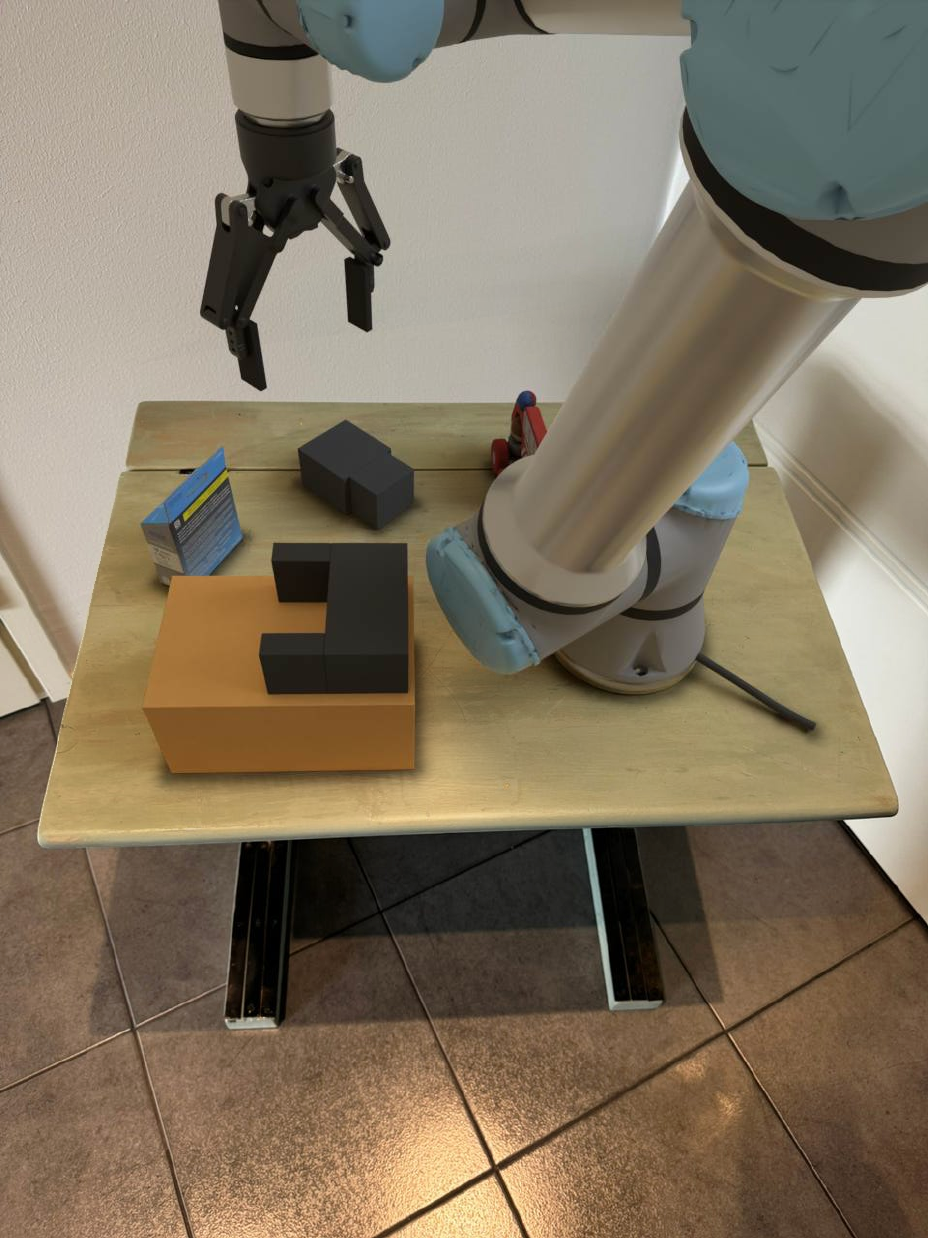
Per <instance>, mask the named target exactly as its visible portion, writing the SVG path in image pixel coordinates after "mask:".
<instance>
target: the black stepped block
mask: <svg viewBox="0 0 928 1238" xmlns="http://www.w3.org/2000/svg"><path fill="white" fill-rule="evenodd" d="M297 456H298V462H299V463H298V465H299V471H300V478H301V484H302V485H303V486H304V487H305V488H307V489H308V490H310V491H311V492H313V493H314V494H316V495H317V496H318V497H320V498H321V499H323V500H324V501H325V502H327V503H329V504H330V505H331V506H333V508H335V509H337V510H338V511H339V512H341V513H343V514H344V515H345V516H347V515H349V514H350V513H352V514H354V515H355V516H356V517H358V518H360V519H361V520H362V521H364V522H365V523H366V524H368V525H369V526H371V527H372V528H374V529H375V530H376V531H378V530H380V529H381V528H383V527H384V526H386V525H387V524H388V523H389V522H391V521H392V520H394V519H395V518H396V517H398V516H399V515H401V514H402V513H403V512H405V511H406V510H408V509H409V508H411V507H412V506H413V505H414V504H415V469H414V468H413V467H411V466H410V465H408V464H407V463H405V462H403V461H402V460H401V459H399V458H397V457H396V456H394V455H393V454H392V447H390V446H388V445H387V444H385V443H384V442H382V441H381V440H379V439H377V438H375V436H373V435H371V434H370V433H367V432H366V431H365V430H363V429H362V428H360V427H358V426H357V425H355V424H354V423H352V422H351V421H349V420H347V419H344V420H342V421H340V422H339V423H337V424H335V425H334V426H332V427H331V428H329V429H328V430H326V431H324V432H322V433H320V434H319V435H317V436H316V437H314V438H312V439H311V440H309V441H308V442H306V443H304V444H303V445H301V446H299V447H298V448H297Z"/></svg>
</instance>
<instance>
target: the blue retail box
mask: <svg viewBox="0 0 928 1238" xmlns="http://www.w3.org/2000/svg"><path fill="white" fill-rule="evenodd" d="M237 511H238V510H237V508H236V503H235V499H234V494H233V489H232V485H231V481H230V477H229V472H228V468H227V465H226V459H225V449H224V446H223V445H221V446H220V447H219V448H218V449H217V450H216V451H215V453H213V454H212V455H211V456H210V457H209V458H208V459H207V460H206V461H205V462H204V463H202V465H201V466H198V467H196V468H195V469H194V470H193V471H192V472H191V473H190V474H189V475H188V476H187V477H186V478H184V480H183V481H182V482H181V483H180V484H179V485H178V486H177V487H176V488H175V489H174V490H173V491H172V492H171V493H170V494H169V495H167V497H166V498H164V500H163V501H162V502H160V504H158V505H157V506H156V508H155V509H153V511H151V512H150V513H149V514H148V515H147V516H146V517H145V518H144V519H143V521H141V522H140V527H141V529H142V533H143V535H144V538H145V541H146V545H147V547H148V550H149V554H150V556H151V559H152V561H153V562H152V563H153V564H154V567H155V570H156V573H157V576H158V578H159V581H160V583H161V584H162V585H164V586H167V587H170V583H171V579H172V576H211V574H212V573H213V572H214V571H215V570H216V569H217V567H218V566H219V565H220V564H221V563H222V562H223V560H224V559H225V558H227V556H228V555H229V554H230V553H231V552H232V550H234V548H235V547H236V546H237V545H238V544H239V543H240V542H241V540H242V539H243V538H244V537H243V534H242V530H241V524H240V520H239V516H238V512H237Z"/></svg>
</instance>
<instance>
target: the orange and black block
mask: <svg viewBox="0 0 928 1238" xmlns="http://www.w3.org/2000/svg"><path fill="white" fill-rule="evenodd" d="M408 551H409V550H408V542H273V544H272V551H271V558H270V559H271V560H270V564H271V568H272V573H273V575H209V576H172V579H171V583H170V586H169V587H168V593H167V597H166V601H165V605H164V610H163V614H162V619H161V623H160V627H159V630H158V631H159V632H158V636H157V639H156V644H155V648H154V653H153V658H152V661H151V666H150V671H149V675H148V679H147V684H146V688H145V693H144V697H143V703H142V706H141V708H142V711H143V713H144V715H145V717H146V720H147V722H148V724H149V727H150V729H151V731H152V733H153V735H154V737H155V739H156V742H157V745H158V746H159V749H160V751H161V753H162V755H163V758H164V760H165V762H166V764H167V767H168V769H169V771H170V773H171V774H206V773H207V774H209V773H210V774H212V773H216V774H217V773H219V774H220V773H271V772H277V773H278V772H329V771H331V772H333V771H339V772H340V771H390V770H392V771H394V770H396V771H397V770H414V769H415V732H416V731H415V730H416V726H415V725H416V722H415V721H416V683H415V681H416V680H415V679H416V677H415V676H416V675H415V674H416V673H415V672H416V671H415V609H414V608H415V607H414V606H415V605H414V604H415V603H414V598H415V597H414V576H413V575H409V567H408V565H409V564H408V563H409V557H408V554H409V553H408Z"/></svg>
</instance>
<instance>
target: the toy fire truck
mask: <svg viewBox="0 0 928 1238" xmlns="http://www.w3.org/2000/svg"><path fill="white" fill-rule="evenodd" d="M536 405H537V396H536V394H535V393H534V392H533V391H532V390H523V391H521V392H520V393H519V394H518V396H517V398H516V400H515V403H514V406H513V409H512V412H511V418H510V429H509V436H508V439H506V438H503V437H502V438H494V439H493V440H492V442H491V447H490V448H491V449H490V460H491V467H492V471H493V474H494V475H495V476H496V478H497V477H498V476H499V474H500V473H501V472H502V471H503V470H505V469H506V468H507V467H508V466H509V465H510V462H516V461H518V460H520V459H522V458H524V457H528V456H531V455H534V454H535V453H536V451H537V449H538V447H539V445H540V444H541V442H542V440H543V438H544V437H545V435H546V433H547V431H548V430H547V427H546V424H545V422H544V421H545V420H544V418H543V415H542V413H541V410H540V408H539V407H538V406H536Z"/></svg>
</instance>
